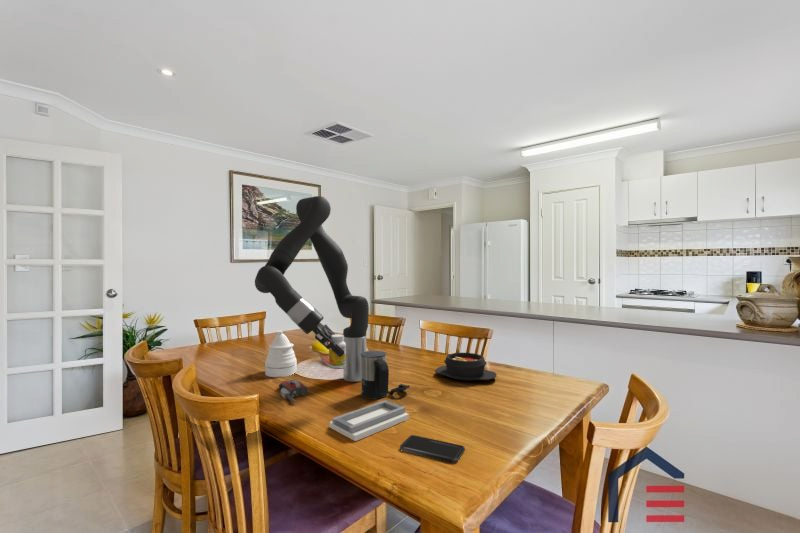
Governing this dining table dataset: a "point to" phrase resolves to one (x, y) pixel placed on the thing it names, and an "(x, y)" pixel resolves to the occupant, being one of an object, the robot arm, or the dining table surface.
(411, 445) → the phone
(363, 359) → the milk frother
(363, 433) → the board
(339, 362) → the supplement bottle
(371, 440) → the dining table surface
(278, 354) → the honey pot
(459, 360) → the casserole
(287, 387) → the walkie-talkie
